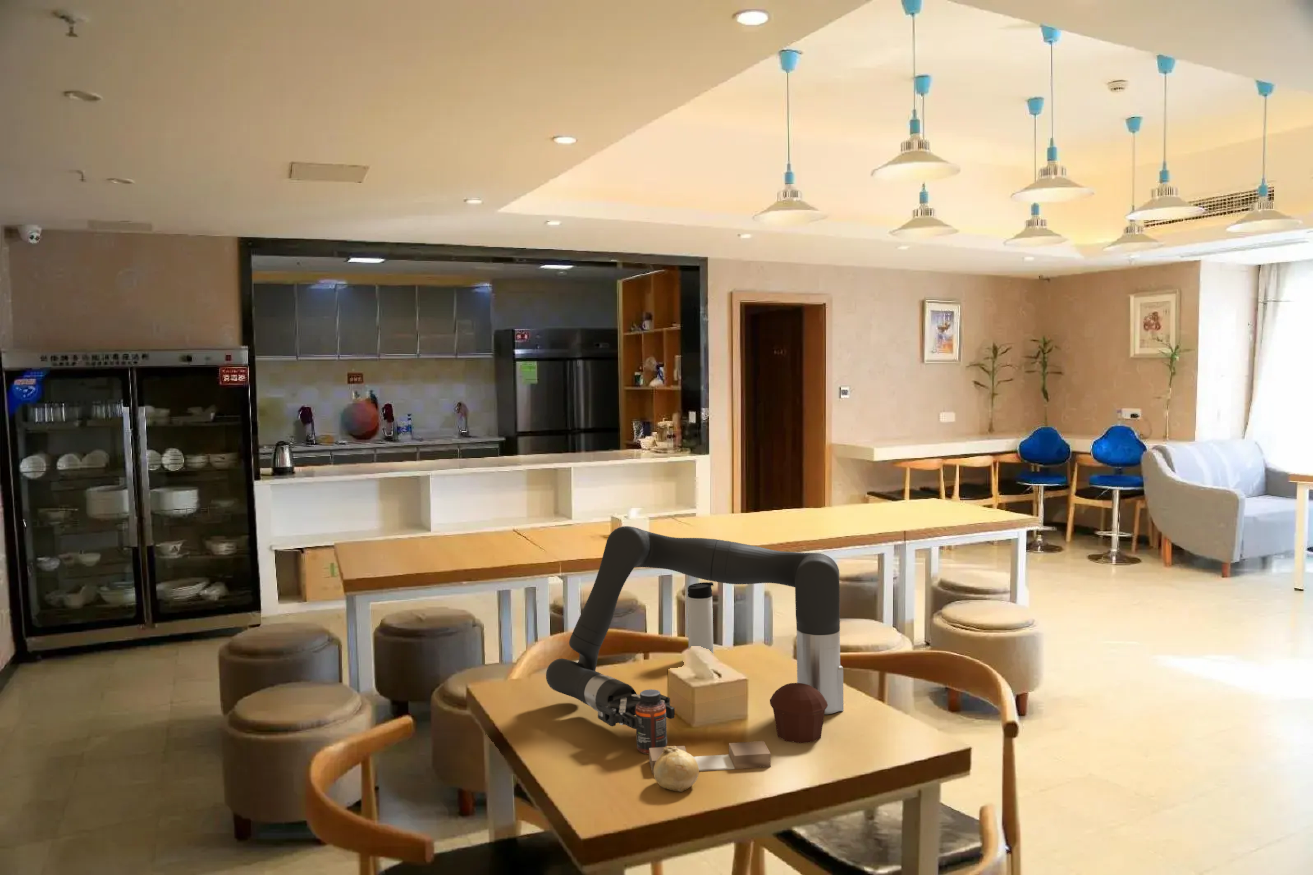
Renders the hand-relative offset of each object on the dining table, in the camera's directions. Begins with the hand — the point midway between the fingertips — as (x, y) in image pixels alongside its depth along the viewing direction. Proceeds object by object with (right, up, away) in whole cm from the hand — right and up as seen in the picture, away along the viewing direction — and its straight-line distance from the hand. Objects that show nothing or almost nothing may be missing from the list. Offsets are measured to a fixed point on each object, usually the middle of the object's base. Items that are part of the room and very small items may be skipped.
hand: (655, 718), depth 181 cm
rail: (+10, -7, -6) cm, 14 cm away
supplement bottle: (-1, -7, +1) cm, 7 cm away
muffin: (+29, -6, +7) cm, 30 cm away
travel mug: (+12, -3, +58) cm, 59 cm away
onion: (+4, -8, -15) cm, 17 cm away
